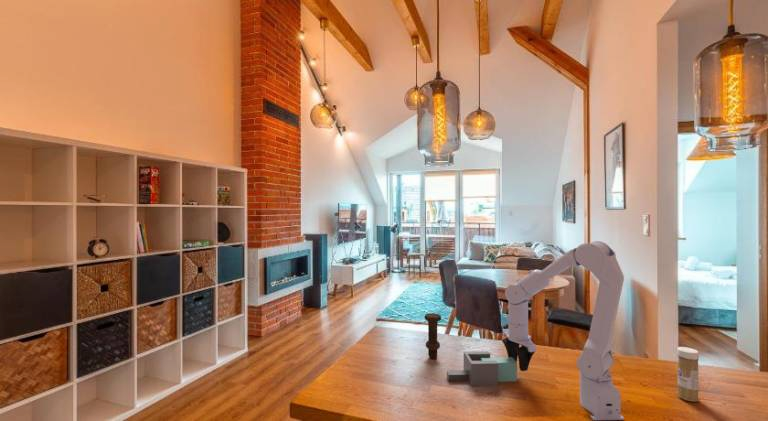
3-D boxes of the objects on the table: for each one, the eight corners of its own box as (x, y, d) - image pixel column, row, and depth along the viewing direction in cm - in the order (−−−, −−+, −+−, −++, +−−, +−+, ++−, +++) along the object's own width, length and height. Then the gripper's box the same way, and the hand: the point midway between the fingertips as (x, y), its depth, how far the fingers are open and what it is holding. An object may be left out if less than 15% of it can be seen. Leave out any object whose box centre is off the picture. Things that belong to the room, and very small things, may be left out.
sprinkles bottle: (673, 394, 99) (672, 346, 99) (687, 393, 100) (687, 345, 100) (688, 403, 95) (688, 353, 95) (703, 402, 95) (703, 352, 95)
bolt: (441, 355, 126) (441, 313, 126) (441, 361, 121) (440, 317, 121) (425, 354, 127) (424, 312, 127) (424, 360, 122) (424, 316, 122)
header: (498, 385, 104) (498, 363, 104) (451, 386, 104) (451, 364, 104) (488, 371, 113) (488, 351, 113) (445, 372, 113) (445, 351, 113)
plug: (517, 381, 107) (517, 362, 107) (484, 382, 107) (484, 363, 107) (511, 375, 111) (511, 357, 111) (480, 376, 111) (480, 357, 111)
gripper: (545, 329, 103) (545, 375, 103) (515, 314, 117) (515, 355, 117) (523, 331, 101) (523, 378, 101) (496, 316, 115) (496, 357, 115)
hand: (518, 366), depth 109 cm, fingers open, 5 cm apart
